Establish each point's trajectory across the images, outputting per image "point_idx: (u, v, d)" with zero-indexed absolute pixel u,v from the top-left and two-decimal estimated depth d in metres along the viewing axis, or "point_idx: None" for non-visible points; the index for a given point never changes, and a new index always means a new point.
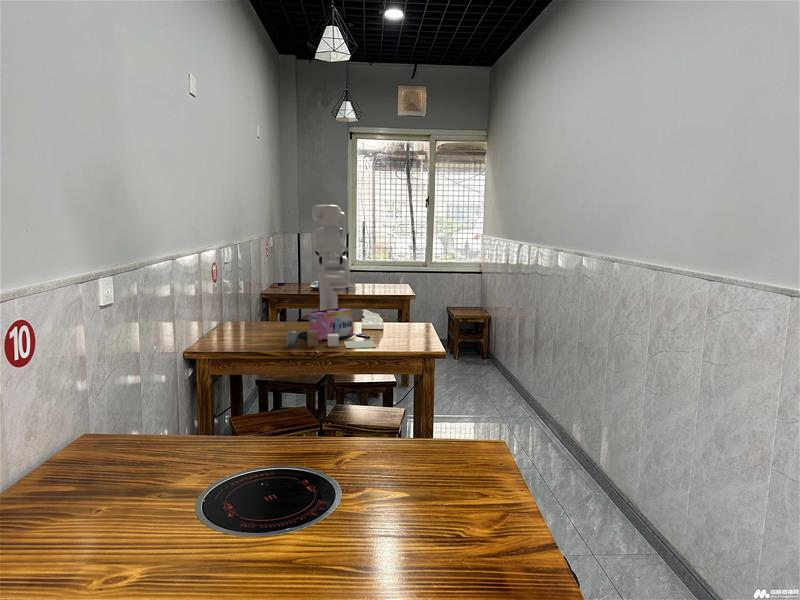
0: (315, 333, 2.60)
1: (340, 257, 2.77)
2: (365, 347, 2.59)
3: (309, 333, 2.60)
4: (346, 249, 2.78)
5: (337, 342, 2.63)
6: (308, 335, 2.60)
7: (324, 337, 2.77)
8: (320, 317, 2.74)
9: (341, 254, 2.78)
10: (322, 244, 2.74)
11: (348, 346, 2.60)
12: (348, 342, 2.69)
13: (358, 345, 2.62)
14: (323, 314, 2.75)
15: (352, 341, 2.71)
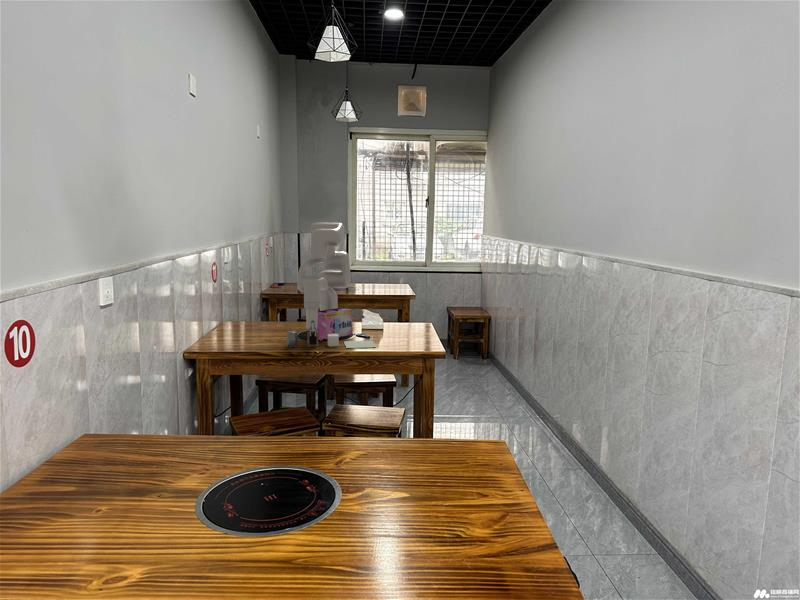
0: None
1: None
2: (365, 347, 2.59)
3: (309, 333, 2.60)
4: None
5: (337, 342, 2.63)
6: (308, 335, 2.60)
7: (324, 337, 2.77)
8: (320, 317, 2.73)
9: None
10: (317, 321, 2.58)
11: (348, 346, 2.60)
12: (348, 342, 2.69)
13: (358, 345, 2.62)
14: (323, 314, 2.75)
15: (352, 341, 2.71)
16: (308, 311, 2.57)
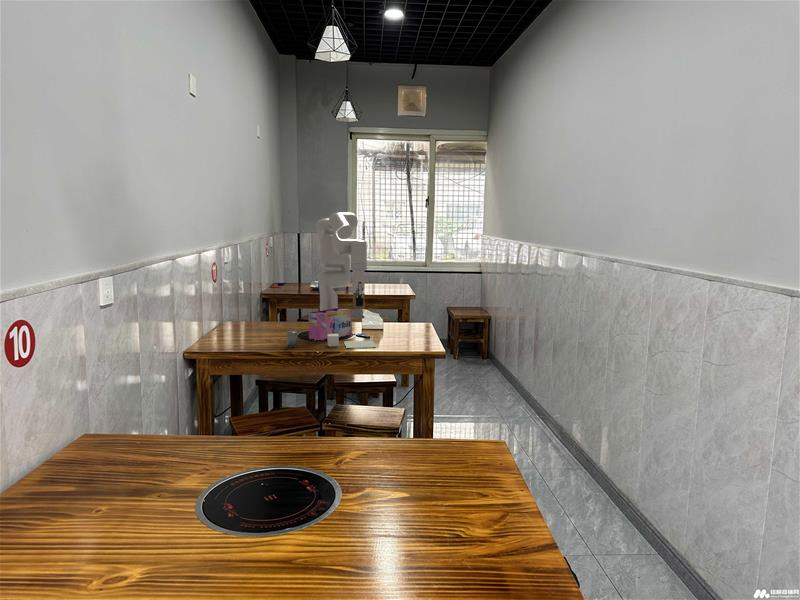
0: None
1: None
2: (365, 347, 2.59)
3: (356, 295, 2.59)
4: None
5: (337, 342, 2.63)
6: (355, 297, 2.59)
7: (324, 337, 2.76)
8: (320, 317, 2.73)
9: None
10: None
11: (348, 346, 2.60)
12: (348, 342, 2.69)
13: (358, 345, 2.62)
14: (323, 314, 2.74)
15: (352, 341, 2.71)
16: (355, 272, 2.56)
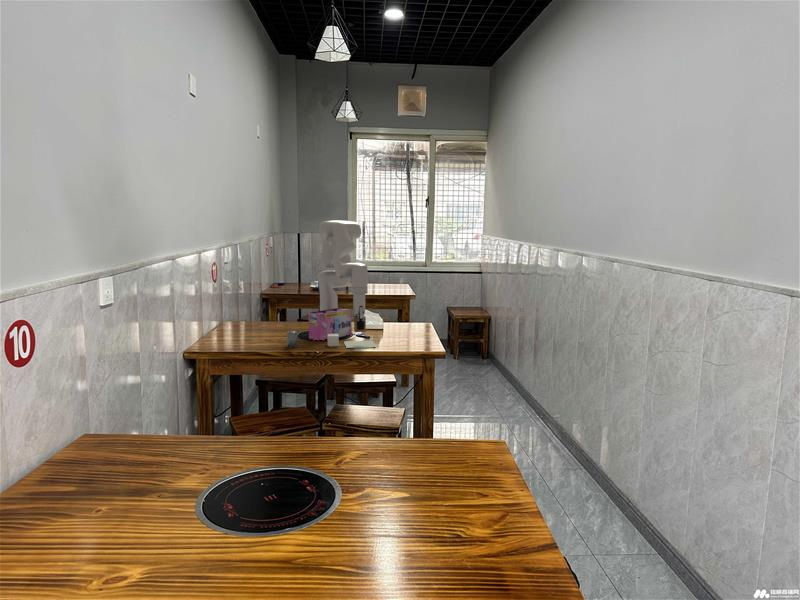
0: None
1: None
2: (365, 347, 2.59)
3: (357, 318, 2.61)
4: None
5: (337, 342, 2.63)
6: (356, 320, 2.61)
7: (324, 337, 2.76)
8: (321, 317, 2.73)
9: None
10: None
11: (348, 346, 2.60)
12: (348, 342, 2.69)
13: (358, 345, 2.62)
14: (323, 314, 2.74)
15: (352, 341, 2.71)
16: (356, 296, 2.58)
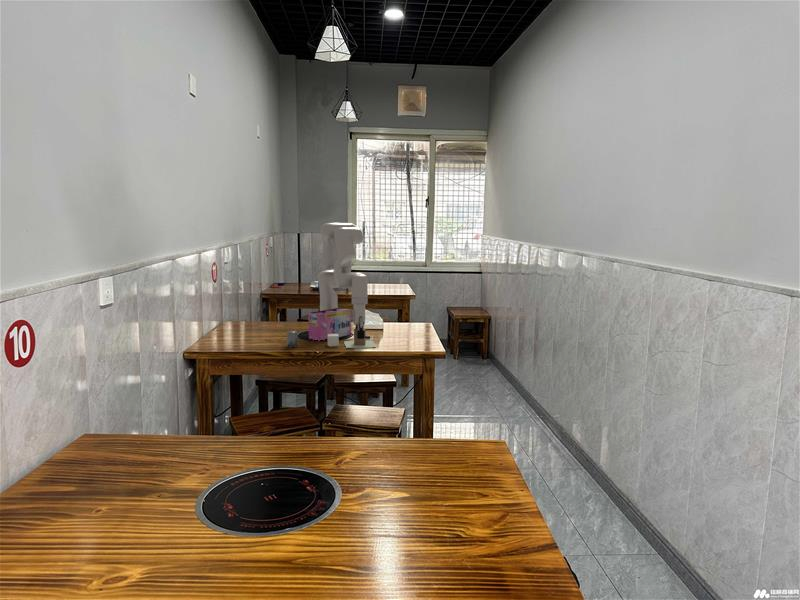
0: None
1: None
2: (365, 347, 2.59)
3: (356, 331, 2.62)
4: None
5: (337, 342, 2.63)
6: (355, 333, 2.62)
7: (324, 337, 2.76)
8: (321, 317, 2.73)
9: None
10: None
11: (348, 346, 2.60)
12: (348, 342, 2.69)
13: (358, 345, 2.62)
14: (323, 314, 2.74)
15: (352, 341, 2.71)
16: (356, 307, 2.58)
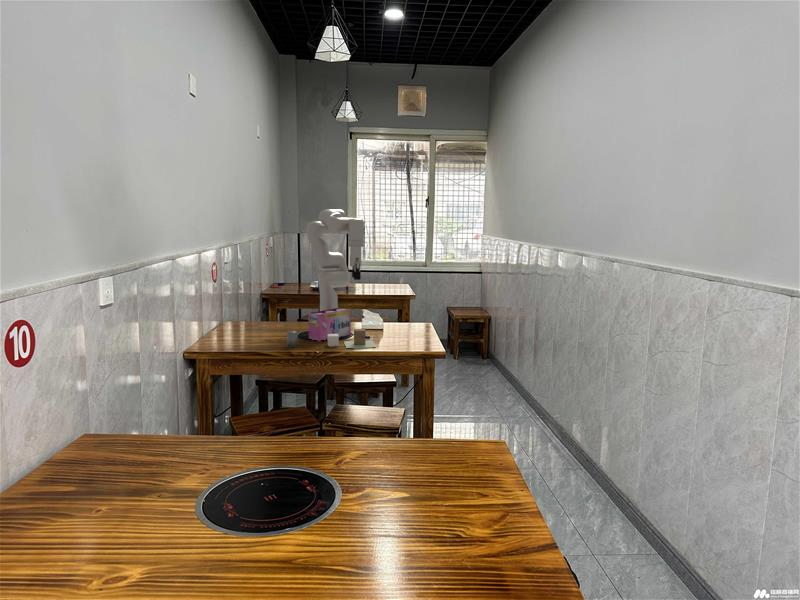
0: (362, 331, 2.63)
1: None
2: (365, 347, 2.59)
3: (356, 331, 2.62)
4: None
5: (337, 342, 2.63)
6: (355, 333, 2.62)
7: (325, 338, 2.75)
8: (321, 317, 2.72)
9: None
10: (361, 258, 2.71)
11: (348, 346, 2.60)
12: (348, 342, 2.69)
13: (358, 345, 2.62)
14: (324, 315, 2.73)
15: (352, 341, 2.71)
16: (353, 249, 2.69)
